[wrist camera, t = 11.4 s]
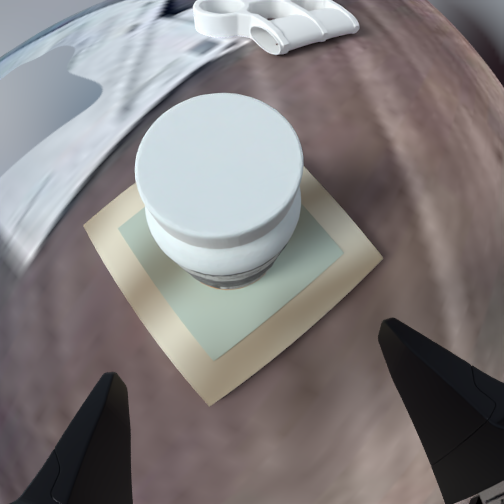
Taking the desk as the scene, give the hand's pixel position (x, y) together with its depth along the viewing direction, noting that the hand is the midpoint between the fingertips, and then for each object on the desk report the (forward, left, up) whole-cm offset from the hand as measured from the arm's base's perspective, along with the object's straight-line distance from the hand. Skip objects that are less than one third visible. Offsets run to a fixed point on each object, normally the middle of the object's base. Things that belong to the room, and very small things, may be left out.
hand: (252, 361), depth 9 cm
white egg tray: (+23, -23, -9) cm, 34 cm away
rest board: (+5, -3, -8) cm, 10 cm away
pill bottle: (+5, -3, -8) cm, 10 cm away
